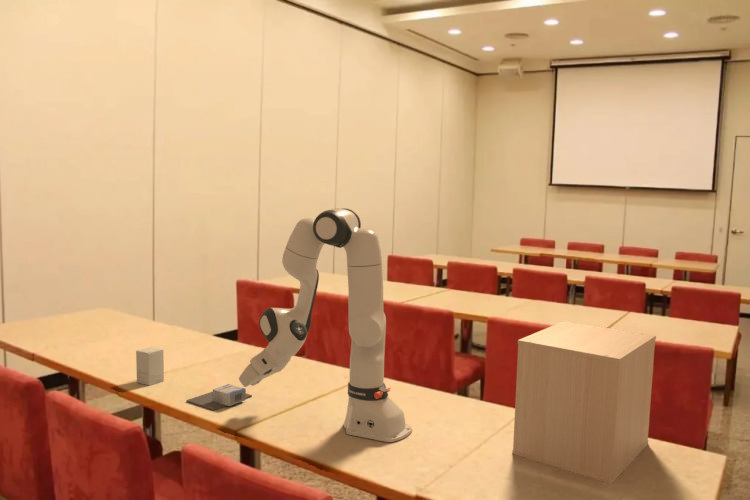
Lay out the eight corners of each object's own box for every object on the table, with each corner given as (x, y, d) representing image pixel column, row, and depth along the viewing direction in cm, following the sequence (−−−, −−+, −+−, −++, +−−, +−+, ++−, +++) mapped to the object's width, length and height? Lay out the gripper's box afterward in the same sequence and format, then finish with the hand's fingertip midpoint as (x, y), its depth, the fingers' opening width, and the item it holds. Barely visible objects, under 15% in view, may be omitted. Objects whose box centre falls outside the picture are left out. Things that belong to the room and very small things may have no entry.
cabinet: (558, 420, 218) (563, 320, 214) (648, 443, 200) (656, 335, 197) (512, 453, 191) (517, 339, 187) (611, 483, 173) (620, 358, 169)
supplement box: (164, 381, 249) (164, 349, 248) (148, 386, 243) (148, 353, 242) (152, 377, 253) (151, 346, 252) (136, 382, 247) (135, 350, 246)
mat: (251, 396, 234) (251, 395, 234) (213, 410, 219) (213, 408, 219) (225, 388, 242) (225, 387, 242) (186, 401, 227) (186, 400, 227)
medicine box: (230, 394, 221) (212, 389, 226) (229, 406, 222) (211, 401, 226) (246, 388, 228) (228, 383, 233) (246, 400, 229) (228, 395, 233)
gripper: (288, 343, 224) (268, 367, 230) (248, 359, 206) (227, 385, 213) (299, 357, 222) (278, 380, 228) (259, 374, 205) (238, 400, 211)
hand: (253, 383), depth 220 cm, fingers closed
